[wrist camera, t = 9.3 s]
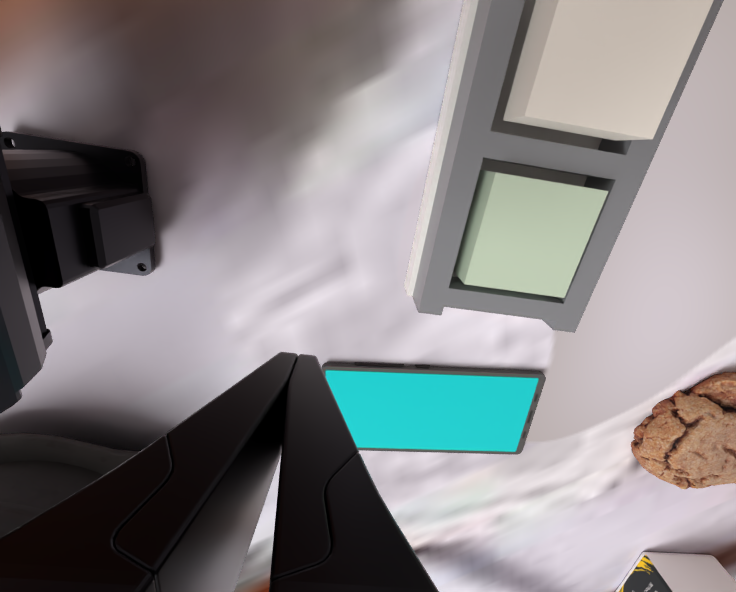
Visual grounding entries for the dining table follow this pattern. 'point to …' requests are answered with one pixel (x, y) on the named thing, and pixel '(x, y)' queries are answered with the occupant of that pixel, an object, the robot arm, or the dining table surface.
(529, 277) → the sage key
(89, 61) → the dining table surface
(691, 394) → the cookie
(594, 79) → the cream key
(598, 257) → the keypad
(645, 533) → the dining table surface
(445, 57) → the dining table surface
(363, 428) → the smartphone
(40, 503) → the casserole
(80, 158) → the robot arm
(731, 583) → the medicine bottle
